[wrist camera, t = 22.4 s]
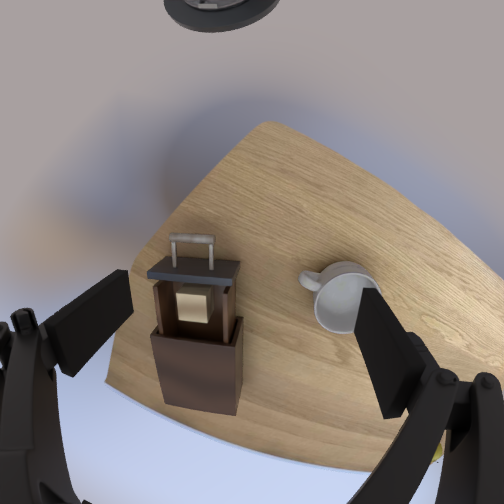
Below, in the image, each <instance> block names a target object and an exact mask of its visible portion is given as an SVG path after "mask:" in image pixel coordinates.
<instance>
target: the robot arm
mask: <svg viewBox="0 0 504 504" xmlns="http://www.w3.org/2000/svg"><path fill="white" fill-rule="evenodd" d="M248 1H249V0H184V2H185V3H186V4H187V5H188V6H189V7H191V8H193V9H195V10H199V11H204V12H219V11H225V10H229V9H233V8H236V7H238V6H240V5H243V4H244V3H246V2H248ZM133 312H134V310H133V304H132V298H131V291H130V284H129V277H128V270H119V269H117V270H115V271H114V272H113V273H111V274H110V275H108V276H107V277H105V278H104V279H102V280H101V281H100V282H98V283H97V284H95V285H94V286H92V287H91V288H90V289H88V290H87V291H85V292H84V293H83V294H81V295H80V296H78V297H77V298H76V299H74V300H73V301H72V302H70V303H69V304H67V305H65V306H64V307H62V308H61V309H60V310H59V311H57V312H56V313H54V315H52V316H50V317H49V318H48V319H46V320H45V321H44V322H43V323H41V324H40V325H39V326H38V324H37V321H36V318H35V314H34V311H33V310H32V309H31V308H22V309H19V310H17V311H15V312H14V313H12V314H11V316H10V317H11V320H12V323H13V326H14V329H15V332H12V331H10V329H9V327H8V324H7V323H6V322H0V361H1V363H2V365H3V366H2V368H1V369H0V504H81V502H80V500H79V499H78V498H77V496H76V494H75V493H74V491H73V488H72V485H71V481H70V477H69V472H68V468H67V463H66V459H65V453H64V448H63V442H62V435H61V428H60V421H59V411H58V398H57V382H56V381H57V380H56V371H55V368H54V366H55V365H56V364H57V363H58V365H59V367H60V369H61V372H62V373H64V374H66V375H68V376H71V377H74V376H75V375H76V374H77V373H78V372H79V371H80V370H81V368H82V367H83V366H84V365H85V364H86V363H87V362H88V361H89V359H90V358H91V357H92V356H93V355H94V354H95V353H96V352H97V351H98V350H99V348H100V347H101V346H102V345H103V344H104V343H105V342H106V341H107V340H108V339H109V338H110V337H111V336H112V335H113V333H114V332H115V331H116V330H117V329H118V328H119V327H120V326H121V325H122V324H123V323H124V322H125V321H126V320H127V319H128V318H129V317H130V316H131V315H132V313H133ZM354 334H355V336H356V339H357V342H358V344H359V347H360V350H361V353H362V355H363V358H364V361H365V364H366V367H367V370H368V372H369V375H370V378H371V381H372V384H373V387H374V390H375V393H376V396H377V399H378V402H379V406H380V409H381V412H382V415H383V419H390V418H398V417H401V415H402V414H403V412H404V410H405V408H407V411H408V413H409V415H408V417H407V419H406V420H405V422H404V424H403V425H402V427H401V429H400V430H399V432H398V434H397V436H396V437H395V439H394V441H393V442H392V444H391V445H390V447H389V448H388V450H387V451H386V453H385V454H384V456H383V457H382V459H381V460H380V462H379V463H378V465H377V466H376V467H375V469H374V470H373V472H372V473H371V474H370V476H369V477H368V478H367V480H366V481H365V482H364V483H363V485H362V486H361V487H360V489H359V490H358V491H357V492H356V493H355V495H354V496H353V497H352V498H351V499H350V500H349V502H348V503H347V504H409V502H410V501H411V499H412V497H413V495H414V494H415V492H416V490H417V488H418V486H419V485H420V483H421V481H422V479H423V477H424V475H425V473H426V471H427V469H428V467H429V465H430V463H431V461H432V459H433V457H434V454H435V452H436V450H437V447H438V445H439V443H440V440H441V438H442V435H443V433H444V430H445V429H446V441H445V450H444V459H443V466H442V472H441V477H440V483H439V488H438V493H437V497H436V501H435V504H504V400H503V395H502V390H501V385H500V382H499V380H498V379H497V378H496V377H495V376H494V375H493V374H491V373H487V372H481V373H478V374H477V375H476V377H475V379H474V380H473V382H465V381H459V379H458V377H457V375H456V374H455V373H454V372H452V371H450V370H448V369H444V368H440V367H439V365H438V364H437V362H436V360H435V359H434V357H433V356H432V354H431V353H430V351H429V350H428V348H427V347H426V346H425V344H424V342H423V341H422V339H421V338H420V337H419V336H417V335H416V334H415V333H413V332H406V331H405V330H404V328H403V327H402V325H401V324H400V322H399V321H398V319H397V318H396V316H395V315H394V313H393V312H392V310H391V309H390V307H389V306H388V304H387V303H386V301H385V300H384V299H383V297H382V296H381V294H380V293H379V291H378V290H377V289H376V288H365V287H363V290H362V295H361V300H360V305H359V310H358V315H357V319H356V323H355V328H354ZM82 504H92V503H90V502H88V501H86V500H83V502H82Z"/></svg>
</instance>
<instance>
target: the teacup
mask: <svg viewBox="0 0 504 504" xmlns="http://www.w3.org/2000/svg"><path fill="white" fill-rule="evenodd" d="M298 280H299V282H300V284H301V285H302V286H304V287H305V288H307V289H309V290H311V291H313V300H314V313H315V317H316V319H317V321H318V322H319V324H320V325H321V326H322V327H323V328H325V329H326V330H328V331H330V332H333V333H338V334H347V333H353V332H354V328H355V323H356V319H357V315H358V310H359V305H360V300H361V295H362V290H363V287H365V288H376V289H377V290H378V291H379V293H380V294H381V290H380V287H379V286H378V284H377V282H376V281H375V280H374V279H373V278H372V276H371V275H370V274H369V272H368V271H367V270H366V269H365V268H364V267H362V266H361V265H359V264H357V263H354V262H350V261H340V262H336V263H333V264H331V265H329V266H328V267H326V268H325V269H324V270H323V271H322V272H321V273H315V272H311V271H306V270H305V271H302V272H301V273H300V275H299V277H298ZM381 296H382V295H381Z"/></svg>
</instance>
